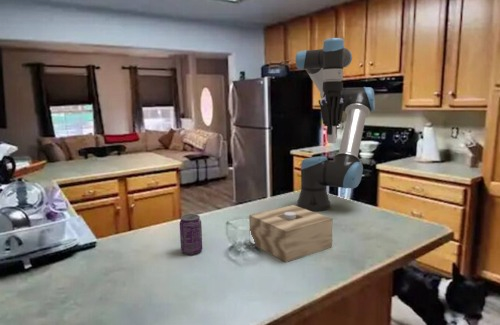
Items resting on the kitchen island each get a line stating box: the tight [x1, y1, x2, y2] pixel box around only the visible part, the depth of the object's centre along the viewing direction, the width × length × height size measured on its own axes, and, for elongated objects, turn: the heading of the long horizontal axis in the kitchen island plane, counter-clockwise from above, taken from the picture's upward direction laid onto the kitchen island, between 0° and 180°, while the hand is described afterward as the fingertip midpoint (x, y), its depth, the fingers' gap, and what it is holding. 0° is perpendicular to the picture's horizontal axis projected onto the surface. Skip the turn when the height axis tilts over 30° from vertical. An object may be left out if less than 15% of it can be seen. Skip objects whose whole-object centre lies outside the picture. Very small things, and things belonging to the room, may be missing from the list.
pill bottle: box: [284, 212, 296, 221], centre depth 123 cm, size 6×5×10 cm
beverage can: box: [179, 213, 203, 256], centre depth 119 cm, size 7×7×12 cm
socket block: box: [248, 204, 334, 263], centre depth 124 cm, size 20×20×10 cm
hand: (331, 142), depth 141 cm, fingers closed
